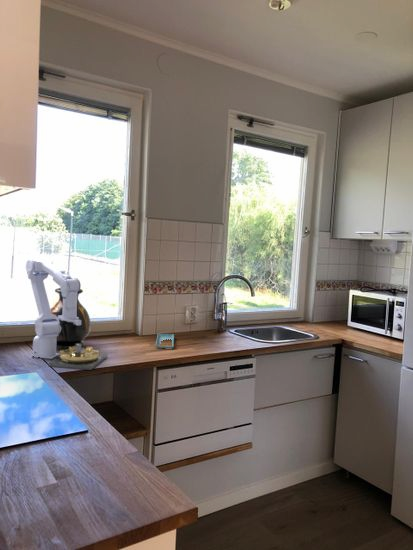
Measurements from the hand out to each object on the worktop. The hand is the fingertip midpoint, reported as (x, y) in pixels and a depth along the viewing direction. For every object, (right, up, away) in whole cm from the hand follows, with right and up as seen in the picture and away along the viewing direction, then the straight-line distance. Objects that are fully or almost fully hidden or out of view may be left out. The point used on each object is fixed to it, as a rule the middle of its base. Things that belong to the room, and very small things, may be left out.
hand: (68, 339), depth 187 cm
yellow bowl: (+3, -8, +5) cm, 10 cm away
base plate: (+3, -10, +5) cm, 12 cm away
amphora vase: (-10, -8, +29) cm, 32 cm away
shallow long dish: (+36, -10, +48) cm, 61 cm away
